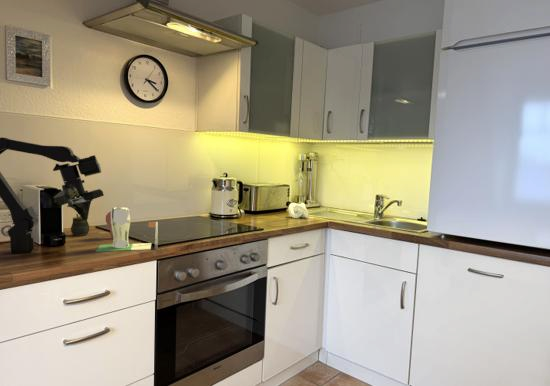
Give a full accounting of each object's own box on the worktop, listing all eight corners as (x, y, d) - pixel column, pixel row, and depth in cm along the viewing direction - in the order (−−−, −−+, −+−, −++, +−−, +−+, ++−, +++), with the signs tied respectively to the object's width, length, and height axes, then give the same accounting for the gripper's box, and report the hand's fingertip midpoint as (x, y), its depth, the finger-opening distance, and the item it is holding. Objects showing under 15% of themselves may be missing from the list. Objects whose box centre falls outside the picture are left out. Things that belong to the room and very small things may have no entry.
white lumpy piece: (312, 217, 235) (313, 203, 234) (300, 219, 226) (300, 204, 225) (297, 215, 242) (298, 201, 241) (285, 217, 233) (286, 203, 232)
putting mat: (95, 251, 140) (95, 227, 139) (100, 245, 149) (99, 222, 148) (157, 249, 146) (157, 225, 145) (157, 243, 155) (157, 221, 154)
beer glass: (106, 247, 145) (106, 208, 143) (120, 244, 151) (119, 206, 150) (121, 249, 142) (121, 209, 141) (134, 246, 149) (134, 207, 147)
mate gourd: (90, 233, 173) (89, 211, 172) (88, 236, 166) (88, 213, 165) (72, 234, 170) (71, 211, 169) (69, 237, 163) (69, 214, 162)
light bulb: (103, 237, 163) (102, 210, 162) (119, 235, 168) (119, 208, 167) (109, 240, 158) (109, 211, 157) (126, 238, 163) (126, 210, 162)
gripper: (34, 189, 136) (49, 230, 139) (74, 179, 130) (88, 223, 132) (60, 182, 146) (73, 221, 149) (97, 173, 140) (111, 214, 143)
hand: (85, 220), depth 143 cm, fingers closed
